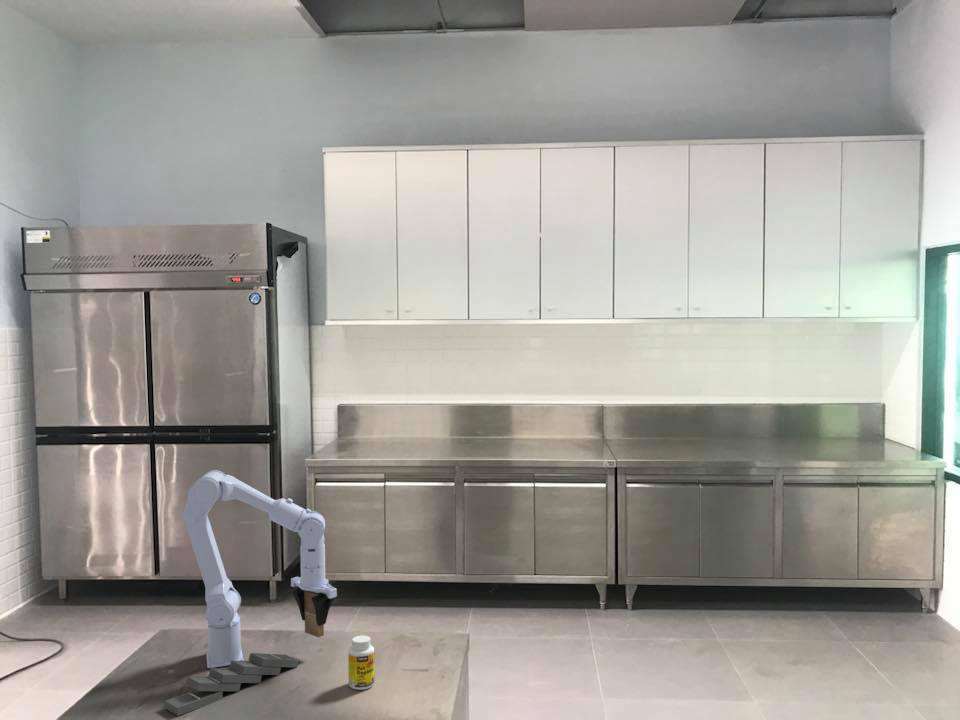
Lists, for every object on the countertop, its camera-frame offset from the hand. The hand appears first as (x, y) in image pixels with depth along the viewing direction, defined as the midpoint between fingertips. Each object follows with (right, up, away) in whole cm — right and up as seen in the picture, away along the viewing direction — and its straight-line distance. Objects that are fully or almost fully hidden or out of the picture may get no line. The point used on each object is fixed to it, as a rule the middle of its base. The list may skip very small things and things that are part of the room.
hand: (313, 621), depth 186 cm
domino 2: (-14, -8, -17) cm, 23 cm away
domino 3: (-10, -8, -13) cm, 18 cm away
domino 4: (-7, -8, -9) cm, 14 cm away
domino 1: (-17, -8, -20) cm, 27 cm away
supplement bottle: (+14, -9, -16) cm, 23 cm away
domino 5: (-4, -8, -5) cm, 10 cm away
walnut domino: (0, -3, 0) cm, 3 cm away
